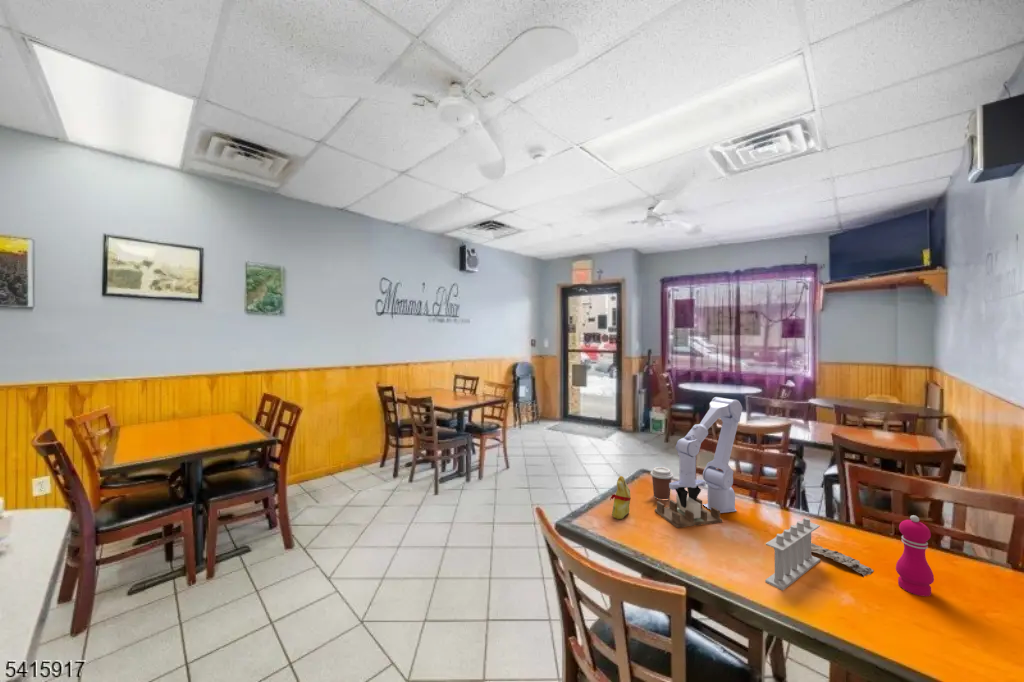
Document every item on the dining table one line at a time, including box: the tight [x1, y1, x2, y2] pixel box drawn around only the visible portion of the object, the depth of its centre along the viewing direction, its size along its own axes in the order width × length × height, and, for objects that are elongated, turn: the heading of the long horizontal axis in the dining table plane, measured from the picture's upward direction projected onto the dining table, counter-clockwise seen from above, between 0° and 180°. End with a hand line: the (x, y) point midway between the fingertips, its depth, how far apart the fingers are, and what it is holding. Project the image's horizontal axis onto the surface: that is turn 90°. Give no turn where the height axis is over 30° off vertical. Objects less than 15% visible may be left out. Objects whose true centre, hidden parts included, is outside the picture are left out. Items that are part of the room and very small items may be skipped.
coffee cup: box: [650, 466, 674, 500], centre depth 168 cm, size 9×9×12 cm
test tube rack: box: [764, 517, 821, 591], centre depth 115 cm, size 25×4×13 cm, turn 124°
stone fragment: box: [811, 542, 874, 577], centre depth 124 cm, size 25×3×10 cm
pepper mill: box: [895, 514, 935, 597], centre depth 106 cm, size 7×7×20 cm
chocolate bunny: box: [609, 475, 631, 520], centre depth 153 cm, size 7×11×15 cm, turn 141°
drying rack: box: [654, 497, 723, 529], centre depth 150 cm, size 19×14×4 cm
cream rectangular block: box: [675, 493, 701, 518], centre depth 150 cm, size 3×10×5 cm, turn 13°
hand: (687, 506), depth 150 cm, fingers closed on cream rectangular block, 3 cm apart
